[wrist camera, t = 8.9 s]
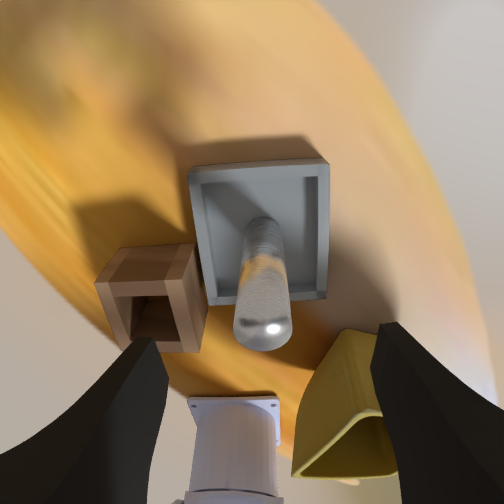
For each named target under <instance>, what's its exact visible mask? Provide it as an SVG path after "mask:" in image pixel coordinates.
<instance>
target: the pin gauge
mask: <svg viewBox="0 0 504 504" xmlns="http://www.w3.org/2000/svg"><path fill="white" fill-rule="evenodd" d="M233 334H234V336H235V338H236V340H237V341H238V342H239V343H240V344H241V345H243V346H244V347H246V348H248V349H251V350H255V351H271V350H275V349H277V348H279V347H281V346H283V345H284V344H285V343H286V342H287V341H288V340H289V339H290V337H291V335H292V319H291V309H290V300H289V291H288V282H287V274H286V265H285V257H284V248H283V240H282V232H281V228H280V226H279V224H278V223H277V222H276V221H275V220H274V219H272V218H269V217H257V218H255V219H253V220H251V221H250V222H249V224H248V225H247V227H246V230H245V237H244V245H243V252H242V260H241V268H240V276H239V283H238V291H237V299H236V307H235V315H234V323H233Z"/></svg>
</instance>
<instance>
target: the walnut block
mask: <svg viewBox="0 0 504 504" xmlns="http://www.w3.org/2000/svg"><path fill="white" fill-rule="evenodd" d="M94 285H95V287H96V290H97V293H98V296H99V298H100V301H101V303H102V306H103V309H104V311H105V314H106V316H107V319H108V321H109V323H110V326H111V328H112V331H113V333H114V335H115V338H116V340H117V342H118V344H119V347H120V349H121V351H124V350H125V349H126V348H127V347H128V346H129V345H130V344H131V343H132V341H133V340H134V339H135V338H136V337H154V339H155V342H156V345H157V348H158V351H159V352H166V353H200V348H201V342H202V337H203V332H204V327H205V322H206V317H207V312H208V308H207V303H206V298H205V293H204V288H203V282H202V277H201V272H200V266H199V260H198V255H197V249H196V243H184V244H170V245H156V246H143V247H130V248H120V249H119V250H118V251H117V252H116V254H115V255H114V256H113V258H112V259H111V260H110V262H109V263H108V264H107V266H106V267H105V268H104V270H103V271H102V272H101V274H100V275H99V276H98V278H97V279H96V281H95V282H94ZM162 295H168V297H169V301H147V298H146V296H162Z"/></svg>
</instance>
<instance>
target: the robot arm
mask: <svg viewBox="0 0 504 504" xmlns="http://www.w3.org/2000/svg"><path fill="white" fill-rule="evenodd" d="M370 371H371V376H372V381H373V385H374V390H375V394H376V397H377V400H378V403H379V406H380V409H381V412H382V415H383V418H384V421H385V424H386V427H387V430H388V433H389V436H390V439H391V443H392V446H393V449H394V453H395V457H396V463H397V468H398V474H399V480H400V489H401V497H402V504H504V410H502V409H501V408H499V407H497V406H496V405H494V404H492V403H491V402H489V401H488V400H486V399H485V398H484V397H482V396H481V395H479V394H478V393H476V392H475V391H474V390H472V389H471V388H470V387H468V386H467V385H466V384H464V383H463V382H462V381H461V380H460V379H458V378H457V377H456V376H455V375H454V374H452V373H451V372H450V371H449V370H448V369H447V368H445V367H444V366H443V365H442V364H441V363H440V362H439V361H438V360H437V359H436V358H434V357H433V356H432V355H431V354H430V353H429V352H428V351H427V350H426V349H425V348H424V347H423V346H422V345H421V344H420V343H419V342H418V341H417V340H415V339H414V338H413V337H412V336H411V335H410V334H409V333H408V332H407V331H406V330H405V329H404V328H403V327H402V326H401V325H400V324H399V323H398V322H392V323H385V324H380V325H379V330H378V335H377V339H376V343H375V348H374V352H373V356H372V360H371V364H370ZM168 382H169V377H168V374H167V372H166V369H165V367H164V364H163V361H162V359H161V356H160V353H159V351H158V348H157V345H156V342H155V339H154V337H136V338H135V339H134V340H133V341H132V343H131V344H130V345H129V346H128V347H127V348H126V349H125V350H124V351H123V353H122V354H121V355H120V356H119V357H118V358H117V359H116V360H115V362H114V363H113V364H112V365H111V366H110V367H109V368H108V369H107V370H106V372H105V373H104V374H103V375H102V376H101V377H100V378H99V379H98V380H97V381H96V382H95V383H94V384H93V385H92V386H91V387H90V388H89V389H88V390H87V391H86V392H85V393H84V395H82V396H81V397H80V398H79V399H78V400H77V401H76V402H75V403H74V404H73V405H72V406H71V407H70V408H69V409H68V410H66V411H65V412H64V413H63V414H62V415H60V416H59V417H58V418H57V419H56V420H54V421H53V422H52V423H51V424H49V425H48V426H46V427H45V428H43V429H42V430H41V431H39V432H38V433H36V434H35V435H34V436H32V437H31V438H30V439H28V440H26V441H24V442H23V443H21V444H19V445H17V446H16V447H14V448H12V449H10V450H8V451H6V452H4V453H2V454H0V504H147V491H148V481H149V471H150V465H151V461H152V456H153V452H154V448H155V444H156V440H157V436H158V433H159V429H160V425H161V421H162V417H163V413H164V409H165V405H166V398H167V391H168ZM187 403H188V406H189V408H190V411H191V413H192V416H193V418H194V420H195V423H196V425H197V427H198V428H197V434H196V441H195V449H194V456H193V463H192V471H191V478H190V486H189V491H186V492H185V498H184V500H179V499H177V500H175V501H174V502H173V503H172V504H284V502H283V501H284V500H283V497H278V476H277V447H278V446H280V410H279V397H277V396H255V397H189V398H188V400H187Z"/></svg>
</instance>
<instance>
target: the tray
mask: <svg viewBox="0 0 504 504" xmlns="http://www.w3.org/2000/svg"><path fill="white" fill-rule="evenodd" d="M187 176H188V184H189V190H190V197H191V204H192V210H193V217H194V223H195V229H196V235H197V241H198V247H199V253H200V259H201V265H202V270H203V276H204V282H205V287H206V292H207V298H208V303H209V306H213V305H236V299H237V291H238V283H239V276H240V268H241V260H242V252H243V245H244V237H245V230H246V227H247V225H248V224H249V222H250V221H251V220H253V219H255V218H257V217H269V218H272V219H274V220H275V221H276V222H277V223H278V224H279V226H280V228H281V232H282V240H283V248H284V257H285V265H286V274H287V282H288V291H289V300H290V301H302V300H315V299H326V292H327V274H328V252H329V218H330V164H329V163H328V162H327V161H326V160H325V159H324V158H312V159H287V160H269V161H254V162H240V163H228V164H217V165H207V166H198V167H192V168H191V170H190V171H189V172H188V173H187Z"/></svg>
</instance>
